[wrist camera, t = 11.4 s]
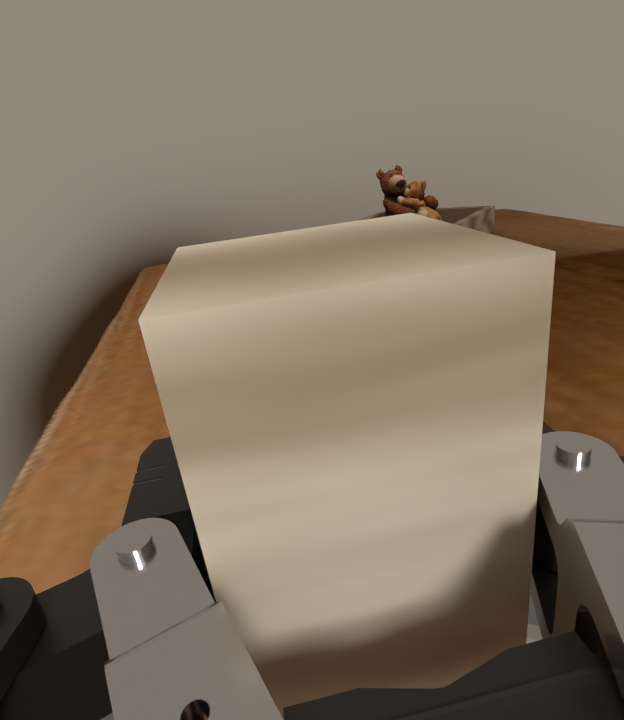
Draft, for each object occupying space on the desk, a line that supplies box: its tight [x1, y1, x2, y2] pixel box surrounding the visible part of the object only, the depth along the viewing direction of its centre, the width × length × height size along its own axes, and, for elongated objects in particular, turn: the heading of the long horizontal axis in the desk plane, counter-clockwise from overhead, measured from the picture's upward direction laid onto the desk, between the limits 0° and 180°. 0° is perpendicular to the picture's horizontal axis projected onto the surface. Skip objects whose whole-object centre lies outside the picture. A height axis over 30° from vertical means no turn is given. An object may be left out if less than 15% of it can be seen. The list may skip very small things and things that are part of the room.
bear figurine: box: [376, 165, 442, 221], centre depth 76 cm, size 14×15×12 cm
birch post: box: [138, 213, 556, 720], centre depth 10 cm, size 5×5×13 cm
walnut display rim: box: [358, 206, 495, 234], centre depth 76 cm, size 20×19×4 cm
